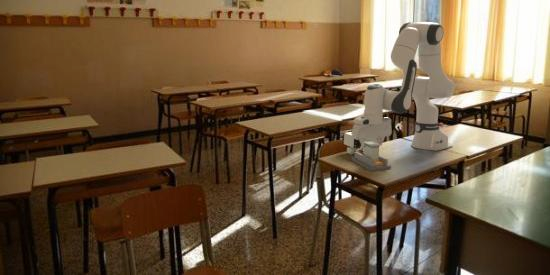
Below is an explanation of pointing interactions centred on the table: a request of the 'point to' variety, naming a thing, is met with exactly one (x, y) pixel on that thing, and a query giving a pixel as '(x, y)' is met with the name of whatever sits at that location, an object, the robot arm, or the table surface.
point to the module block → (371, 150)
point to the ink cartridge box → (369, 141)
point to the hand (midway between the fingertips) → (371, 146)
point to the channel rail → (370, 162)
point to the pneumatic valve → (350, 142)
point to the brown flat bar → (378, 163)
